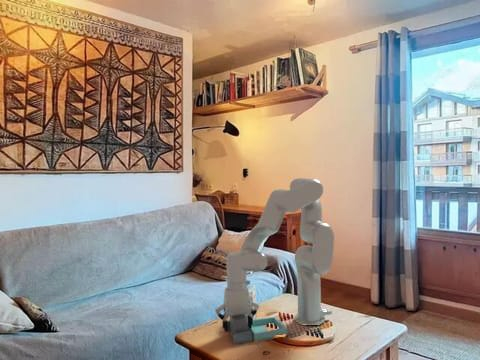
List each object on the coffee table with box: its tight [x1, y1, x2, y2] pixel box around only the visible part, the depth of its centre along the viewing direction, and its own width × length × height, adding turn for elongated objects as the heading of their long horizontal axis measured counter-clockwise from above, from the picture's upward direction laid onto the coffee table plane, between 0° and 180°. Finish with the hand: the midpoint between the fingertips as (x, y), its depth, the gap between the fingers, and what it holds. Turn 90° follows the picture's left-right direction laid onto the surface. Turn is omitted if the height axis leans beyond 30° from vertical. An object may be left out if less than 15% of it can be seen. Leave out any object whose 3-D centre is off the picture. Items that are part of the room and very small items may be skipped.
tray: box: [247, 316, 288, 343], centre depth 154 cm, size 13×13×3 cm
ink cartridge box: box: [244, 283, 257, 320], centre depth 166 cm, size 9×5×15 cm, turn 168°
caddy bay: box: [226, 319, 253, 345], centre depth 152 cm, size 7×12×4 cm, turn 14°
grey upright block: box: [229, 314, 247, 338], centre depth 151 cm, size 5×8×8 cm, turn 14°
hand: (237, 328), depth 151 cm, fingers open, 9 cm apart
